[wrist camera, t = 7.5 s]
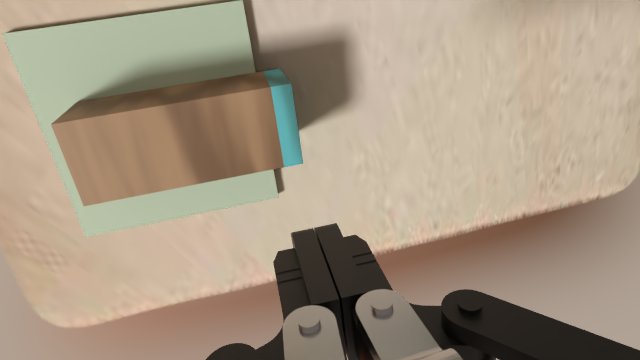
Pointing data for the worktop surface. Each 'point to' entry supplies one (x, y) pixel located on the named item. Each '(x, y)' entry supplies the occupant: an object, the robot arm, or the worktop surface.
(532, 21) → the worktop surface
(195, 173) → the walnut block
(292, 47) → the worktop surface
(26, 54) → the sage mat
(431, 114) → the worktop surface
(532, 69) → the worktop surface
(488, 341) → the robot arm
